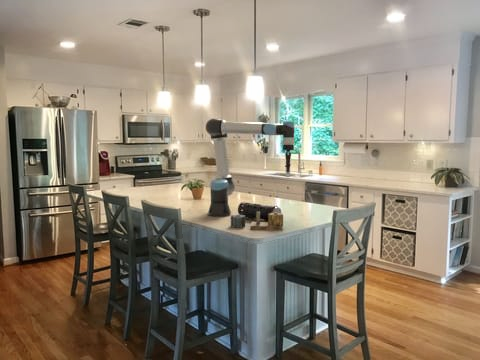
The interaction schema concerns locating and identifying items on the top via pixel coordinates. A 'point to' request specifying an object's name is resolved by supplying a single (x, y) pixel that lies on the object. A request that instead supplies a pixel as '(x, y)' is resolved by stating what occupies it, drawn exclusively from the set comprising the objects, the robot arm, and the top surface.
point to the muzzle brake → (257, 210)
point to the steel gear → (237, 221)
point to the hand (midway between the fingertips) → (287, 176)
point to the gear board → (273, 222)
